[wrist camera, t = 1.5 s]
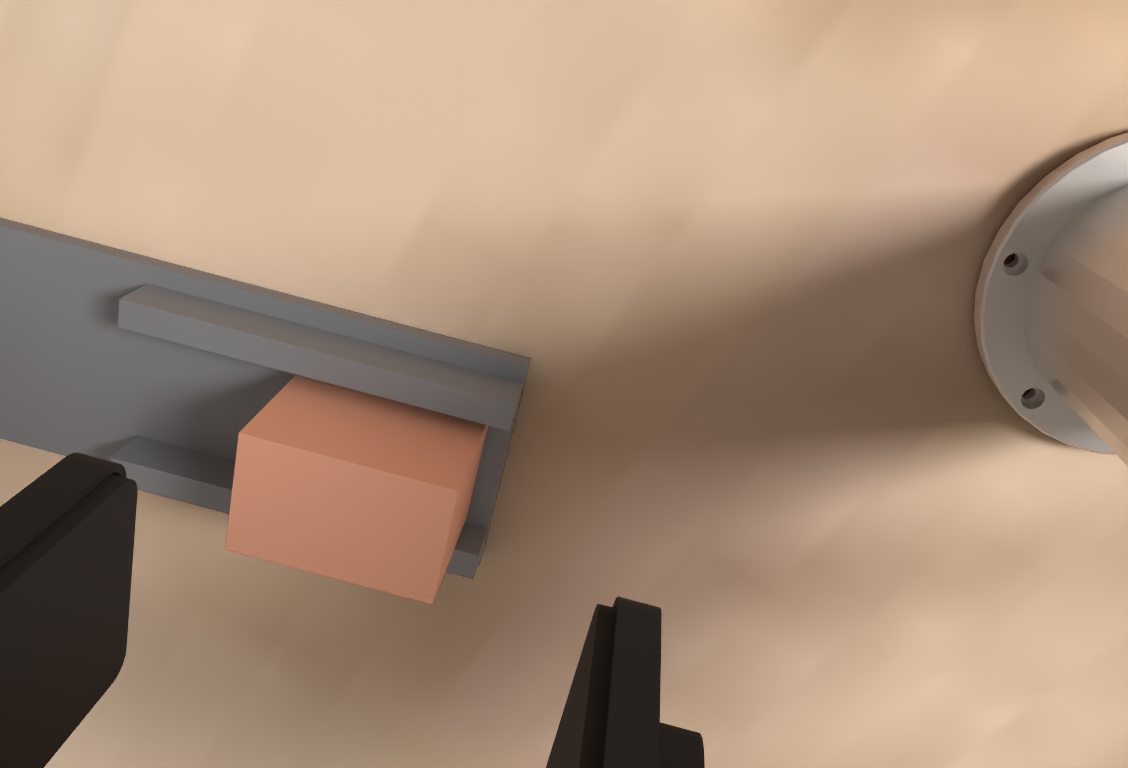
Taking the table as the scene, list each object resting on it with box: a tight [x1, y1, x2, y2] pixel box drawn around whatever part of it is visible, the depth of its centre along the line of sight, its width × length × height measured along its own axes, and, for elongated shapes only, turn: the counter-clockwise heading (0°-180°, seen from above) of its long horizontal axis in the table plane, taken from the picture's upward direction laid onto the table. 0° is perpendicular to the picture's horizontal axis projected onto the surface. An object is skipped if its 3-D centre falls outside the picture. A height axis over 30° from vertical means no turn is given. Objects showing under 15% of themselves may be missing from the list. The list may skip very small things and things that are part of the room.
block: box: [225, 375, 488, 604], centre depth 38 cm, size 8×5×6 cm, turn 76°
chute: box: [0, 218, 530, 579], centre depth 40 cm, size 28×10×3 cm, turn 76°
